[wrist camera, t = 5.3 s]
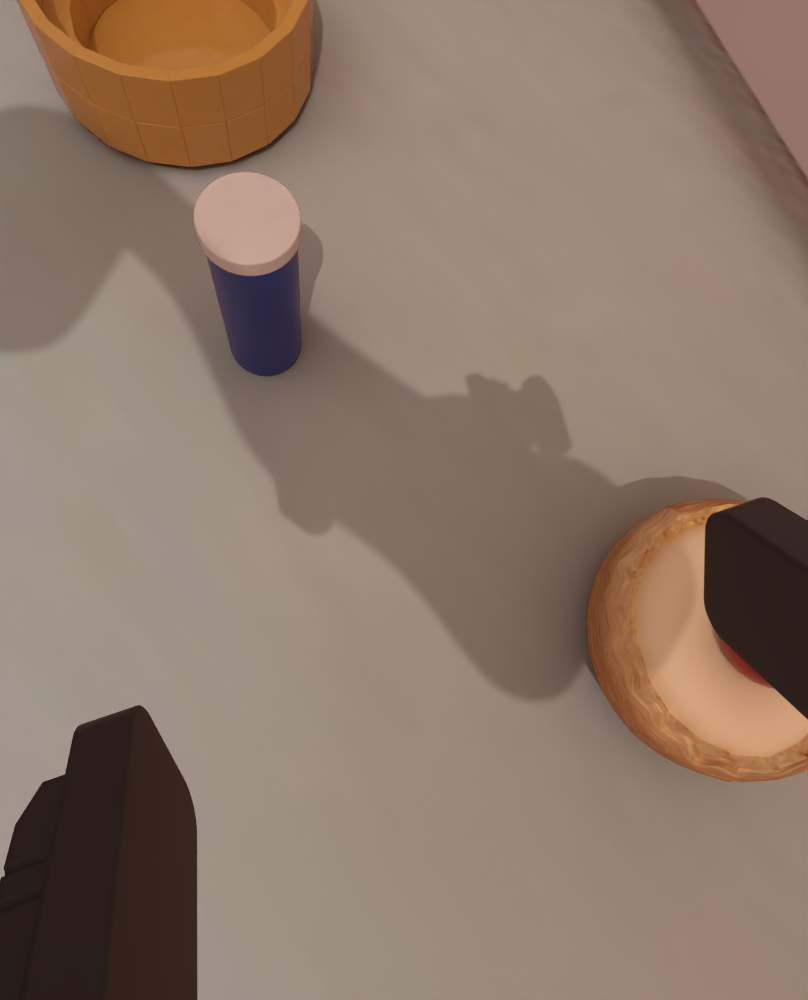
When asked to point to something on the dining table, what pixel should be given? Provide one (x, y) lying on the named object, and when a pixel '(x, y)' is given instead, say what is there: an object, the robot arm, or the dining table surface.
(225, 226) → the vial
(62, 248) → the dining table surface
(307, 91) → the bowl
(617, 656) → the pastry
